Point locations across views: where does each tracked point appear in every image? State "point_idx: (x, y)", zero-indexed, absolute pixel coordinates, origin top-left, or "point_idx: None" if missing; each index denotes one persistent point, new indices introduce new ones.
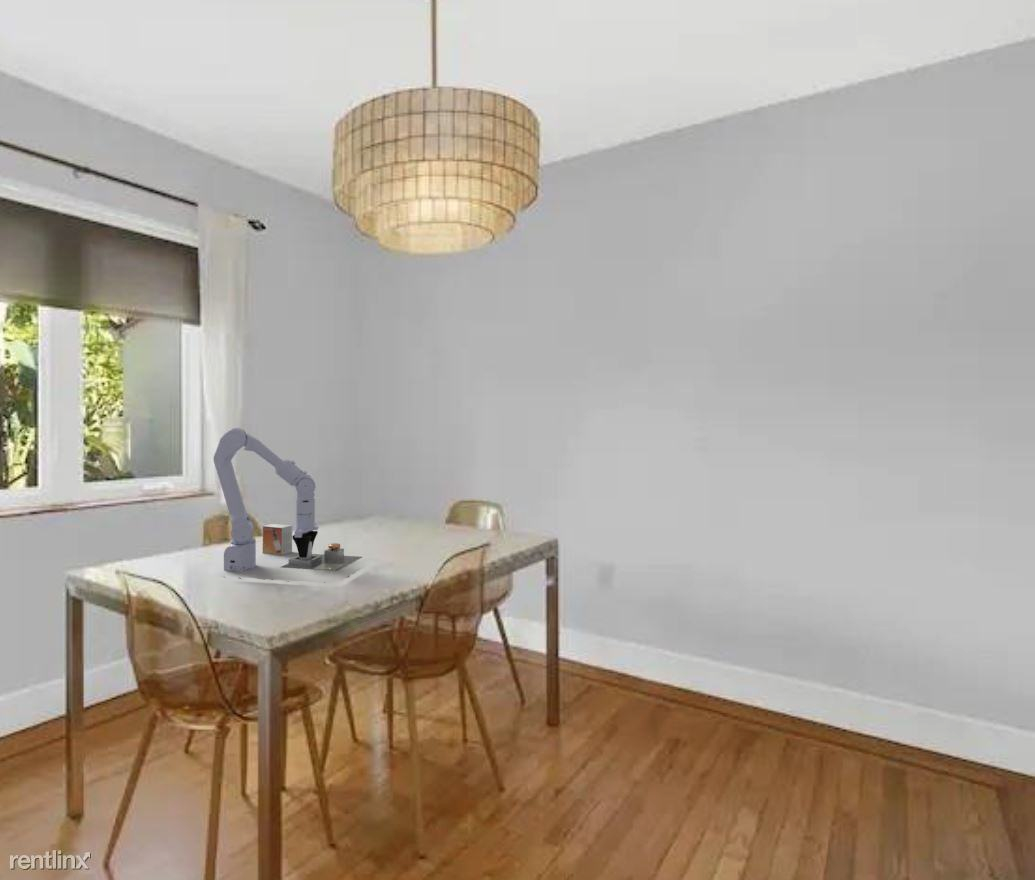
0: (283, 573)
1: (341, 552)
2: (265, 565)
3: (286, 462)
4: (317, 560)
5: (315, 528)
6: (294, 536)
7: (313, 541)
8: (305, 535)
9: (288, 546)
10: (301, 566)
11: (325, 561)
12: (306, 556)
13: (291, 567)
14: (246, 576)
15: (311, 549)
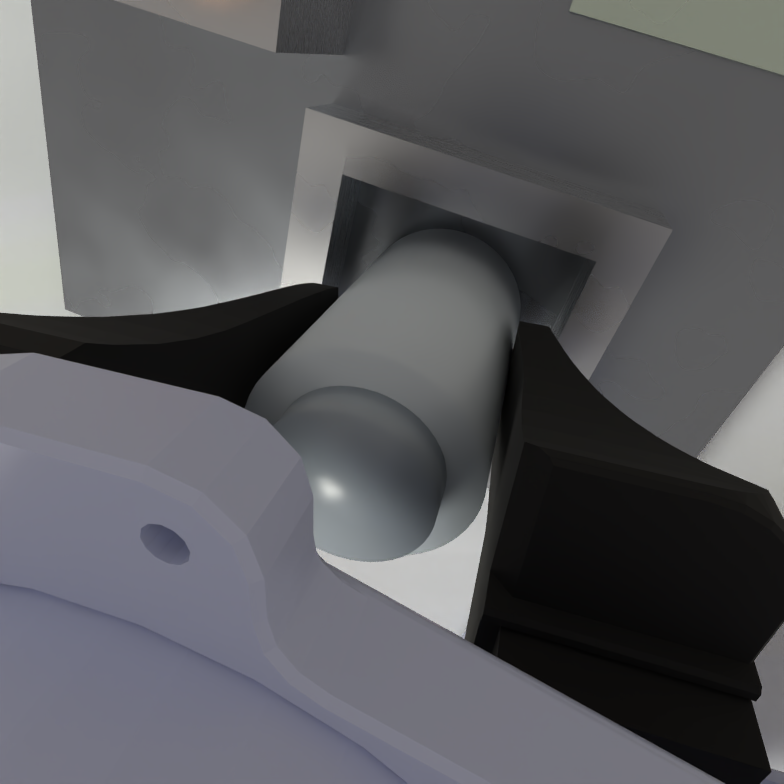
0: (754, 474)
1: None
2: (397, 588)
3: None
4: (455, 148)
5: (277, 547)
6: None
7: (205, 321)
8: (571, 640)
9: None
10: (668, 330)
11: (401, 21)
12: (532, 325)
13: (689, 434)
14: (756, 702)
15: (415, 294)
